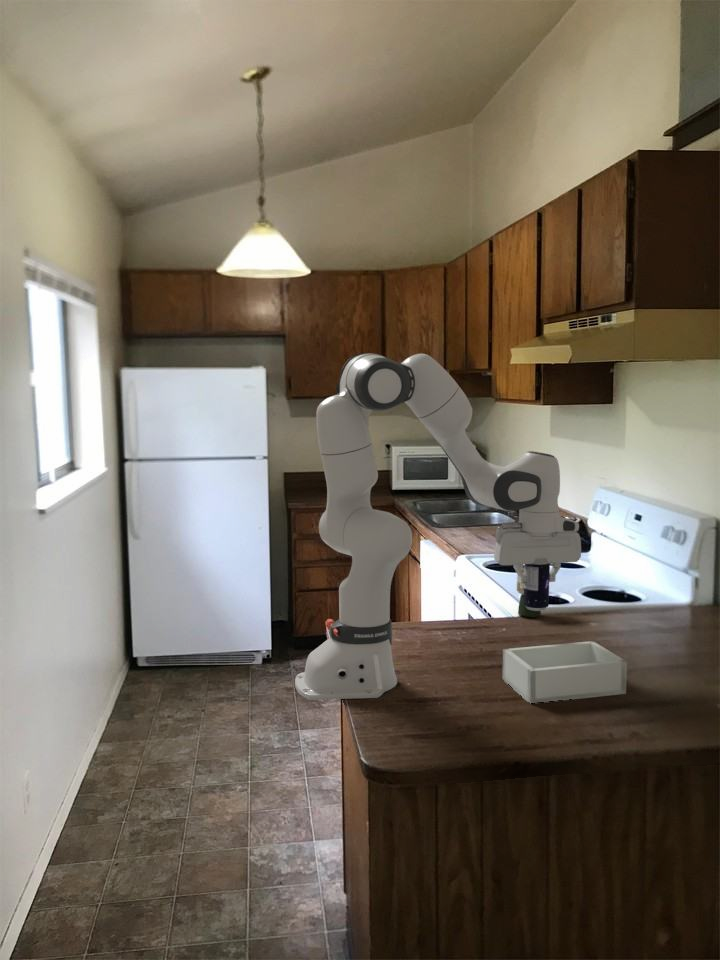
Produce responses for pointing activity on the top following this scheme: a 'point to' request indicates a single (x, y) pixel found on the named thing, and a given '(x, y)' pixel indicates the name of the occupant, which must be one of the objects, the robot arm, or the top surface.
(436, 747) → the top surface
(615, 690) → the crate
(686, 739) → the top surface
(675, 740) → the top surface
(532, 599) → the beverage can
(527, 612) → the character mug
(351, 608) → the robot arm
